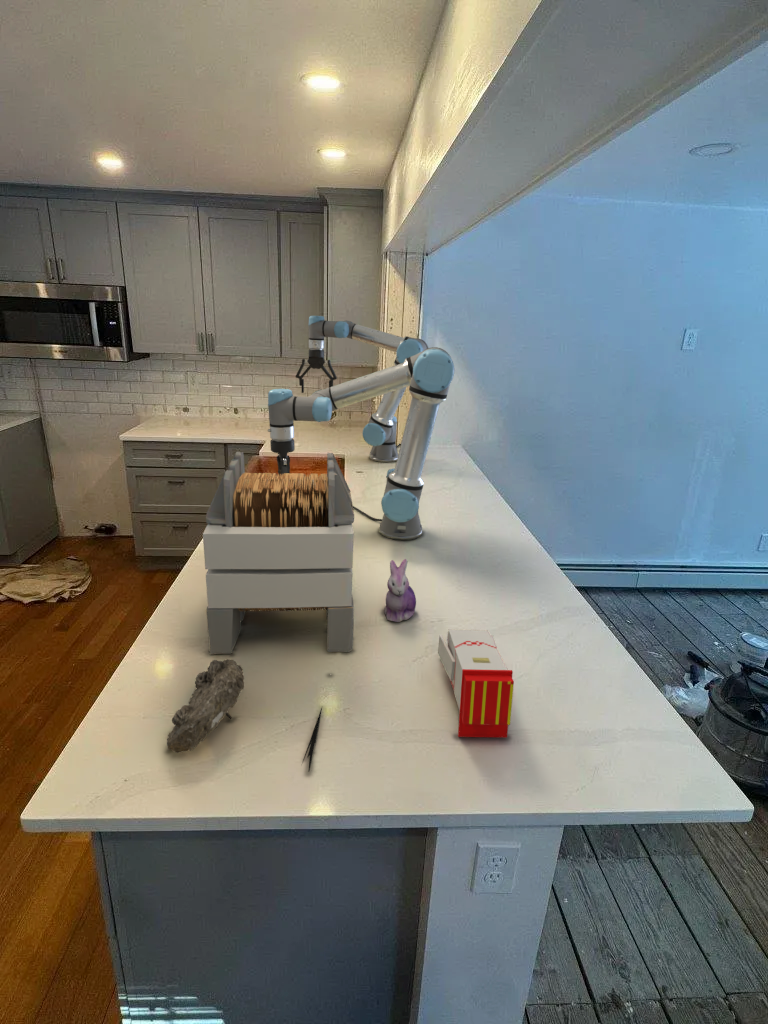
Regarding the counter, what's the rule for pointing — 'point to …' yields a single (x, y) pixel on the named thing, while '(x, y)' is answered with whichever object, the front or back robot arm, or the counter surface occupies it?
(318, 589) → the record crate stand
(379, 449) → the back robot arm
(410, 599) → the figurine
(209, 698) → the fossil
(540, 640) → the counter surface
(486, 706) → the toy
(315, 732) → the feather
